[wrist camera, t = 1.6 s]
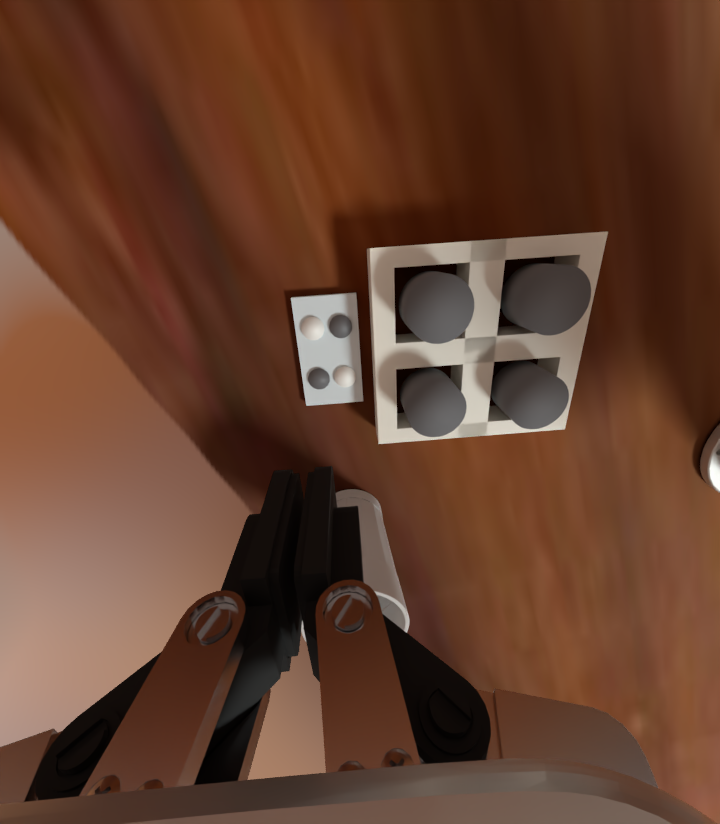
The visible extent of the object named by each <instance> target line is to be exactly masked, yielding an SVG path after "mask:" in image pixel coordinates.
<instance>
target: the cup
mask: <svg viewBox="0 0 720 824" xmlns="http://www.w3.org/2000/svg"><path fill="white" fill-rule="evenodd" d="M336 501H337V507H349V506H358V509H359V521H360V534H361V547H362V563H363V578H364V583H365V584H367V585H369V586H370V587H371V588H372V589H373V590H374V592H375V593H376V595H377V597H378V600H379V602H380V606H381V610H382V614H384V615H385V616H386V617H387V618H389V619H390V620H391V621H392V622H394V623H395V624H396V625H397V626H399V627H400V628H401V629H402V630H404V631H405V632H406V633H407V631H408V628H409V616H408V612H407V608H406V605H405V601H404V598H403V594H402V590H401V587H400V583H399V579H398V577H397V574H396V570H395V566H394V562H393V558H392V554H391V551H390V547H389V543H388V539H387V535H386V531H385V527H384V523H383V519H382V512H381V507H380V504H379V502H378V501H377V499H376V498H375V497H374V496H372V495H371V494H369V493H367V492H365V491H362V490H357V489H347V490H342V491H339V492H337V493H336ZM301 632H302V635H303V637H304V639H305V641H306V637H305V632H304V626H303V621H302V627H301Z"/></svg>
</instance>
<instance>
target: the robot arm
mask: <svg viewBox="0 0 720 824" xmlns="http://www.w3.org/2000/svg"><path fill="white" fill-rule="evenodd" d="M700 470H701V474H702V477H703V479H704V480H705V482H706V483H707V484H708V485H709V486H711V487H712V488H713V489H715V490H716V491H718V492H720V424H719V425H718V426H717V427H716V428H715V430H714V431H713V433H712V434H711V435H710V437H709V438H708V440H707V442H706V444H705V446H704V448H703V451H702V455H701V459H700ZM302 621H303V626H304V632H305V637H306V642H307V646H308V651H309V656H310V660H311V665H312V669H313V674H314V676H315V677H316V678H317V679H318V681H319V682H320V689H321V705H322V720H323V734H324V748H325V764H326V773H319V774H308V775H297V776H286V777H275V778H265V779H254V780H247V779H248V775H249V772H250V769H251V765H252V761H253V758H254V754H255V750H256V747H257V743H258V739H259V736H260V732H261V728H262V725H263V721H264V718H265V714H266V710H267V706H268V703H269V698H270V688H271V687H272V686H273V685H274V684H275V683H276V682H277V681H278V680H279V679H280V675H281V672H284V671H289V670H290V663H291V656H297V655H298V652H299V645H300V636H301V627H302ZM0 824H717V823H716V822H714V821H713V820H711V819H710V818H708V817H707V816H705V815H704V814H702V813H701V812H700V811H698V810H697V809H695V808H694V807H692V806H690V805H689V804H687V803H685V802H683V801H681V800H679V799H678V798H676V797H674V796H672V795H670V794H669V793H667V792H665V791H663V790H661V789H659V788H658V786H657V784H656V781H655V779H654V776H653V774H652V771H651V769H650V766H649V764H648V761H647V759H646V757H645V755H644V753H643V751H642V749H641V748H640V746H639V744H638V742H637V740H636V739H635V738H634V737H633V736H632V734H631V733H630V732H629V731H628V730H627V729H626V728H625V727H624V725H623V724H621V723H620V722H619V721H617V720H616V719H615V718H613V717H612V716H610V715H609V714H608V713H606V712H603V711H600V710H598V709H595V708H592V707H588V706H582V705H577V704H572V703H567V702H562V701H557V700H552V699H547V698H542V697H537V696H531V695H526V694H521V693H516V692H511V691H506V690H501V689H496V688H494V693H492V692H487V691H482V690H477V689H475V688H474V687H473V686H472V685H471V684H470V683H469V682H468V681H467V680H465V679H464V678H463V677H462V676H460V675H459V674H458V673H457V672H455V671H454V670H453V669H452V668H450V667H449V666H448V665H447V664H445V663H444V662H443V661H442V660H440V659H439V658H438V657H436V656H435V655H434V654H433V653H431V652H430V651H429V650H428V649H426V648H425V647H424V646H423V645H421V644H420V643H419V642H418V641H416V640H415V639H414V638H413V637H411V636H410V635H409V634H407V633H406V632H405V631H404V630H402V629H401V628H400V627H399V626H397V625H396V624H395V623H394V622H392V621H391V620H390V619H389V618H387V617H386V616H385V615H384V614H382V610H381V606H380V602H379V600H378V597H377V595H376V593H375V592H374V590H373V589H372V588H371V587H370V586H369V585H367V584H365V583H364V578H363V563H362V547H361V534H360V521H359V509H358V506H349V507H337V501H336V492H335V484H334V475H333V468H332V466H328V467H315V470H314V472H309V473H308V479H307V485H306V492H305V498H303V492H302V486H301V481H300V475H299V473H297V474H294V473H293V470H292V469H290V470H278V471H274V472H273V475H272V478H271V482H270V485H269V488H268V491H267V494H266V497H265V501H264V504H263V507H262V510H261V513H260V514H251V515H249V516H248V518H247V520H246V522H245V525H244V528H243V530H242V533H241V536H240V539H239V541H238V544H237V547H236V550H235V553H234V555H233V558H232V561H231V564H230V567H229V569H228V572H227V575H226V578H225V580H224V583H223V586H222V589H221V591H216V592H213V593H210V594H208V595H206V596H204V597H202V598H201V599H199V600H197V601H196V602H195V603H194V604H193V605H192V606H191V607H189V608H188V610H187V611H186V612H185V614H184V615H183V617H182V618H181V619H180V621H179V623H178V625H177V626H176V628H175V630H174V632H173V634H172V635H171V637H170V639H169V641H168V642H167V644H166V646H165V647H164V649H163V651H162V652H161V653H159V654H158V655H157V656H156V657H154V658H153V659H152V660H151V661H149V662H148V663H147V664H145V665H144V666H143V667H141V668H140V669H139V670H137V671H136V672H135V673H134V674H132V675H131V676H130V677H128V678H127V679H126V680H125V681H123V682H122V683H121V684H119V685H118V686H117V687H115V688H114V689H113V690H112V691H110V692H109V693H108V694H106V695H105V696H104V697H103V698H101V699H100V700H99V701H97V702H96V703H95V704H94V705H92V706H91V707H90V708H88V709H87V710H86V711H85V712H83V713H82V714H81V715H79V716H78V717H77V718H76V719H75V720H74V721H73V722H71V723H70V724H69V725H68V726H67V727H66V728H65V729H64V730H63V731H61V732H59V733H57V732H56V731H55V729H51V730H48V731H46V732H42V733H39V734H37V735H34V736H31V737H28V738H25V739H22V740H20V741H17V742H14V743H11V744H9V745H5V746H2V747H0Z"/></svg>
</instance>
